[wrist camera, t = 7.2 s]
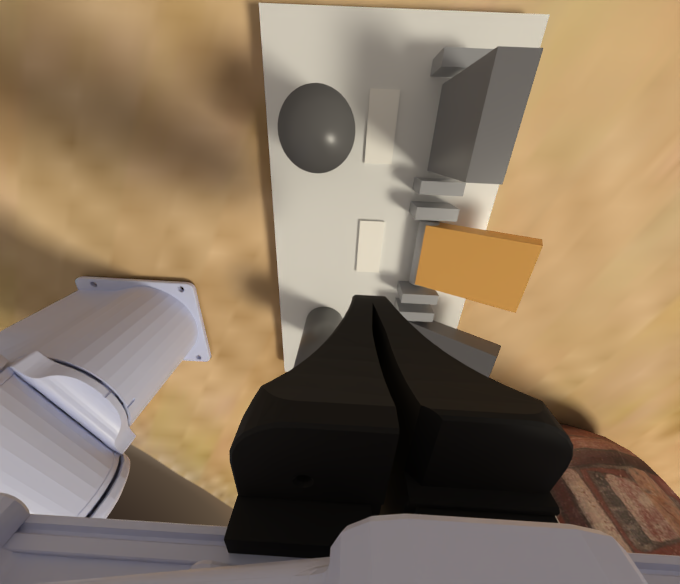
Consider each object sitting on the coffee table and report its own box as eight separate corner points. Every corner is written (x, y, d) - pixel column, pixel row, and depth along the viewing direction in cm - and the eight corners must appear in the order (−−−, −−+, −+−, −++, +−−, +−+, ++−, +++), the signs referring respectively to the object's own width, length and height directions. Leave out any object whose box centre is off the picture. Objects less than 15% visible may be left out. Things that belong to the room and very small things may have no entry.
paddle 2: (392, 360, 22) (478, 403, 19) (399, 316, 20) (497, 355, 17) (399, 351, 23) (483, 390, 20) (407, 309, 21) (501, 344, 18)
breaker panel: (287, 362, 26) (266, 433, 19) (265, 13, 14) (196, -93, 8) (437, 370, 25) (466, 445, 19) (534, 24, 14) (683, -75, 8)
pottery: (504, 384, 26) (741, 760, 10) (663, 423, 28) (1078, 799, 12) (426, 480, 34) (488, 769, 18) (551, 506, 36) (707, 792, 20)
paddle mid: (406, 283, 19) (514, 314, 16) (416, 222, 17) (543, 244, 14) (412, 276, 20) (516, 304, 17) (423, 218, 18) (542, 237, 15)
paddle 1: (424, 171, 16) (464, 185, 11) (439, 84, 14) (499, 41, 9) (447, 172, 16) (501, 187, 10) (466, 85, 14) (544, 43, 9)
